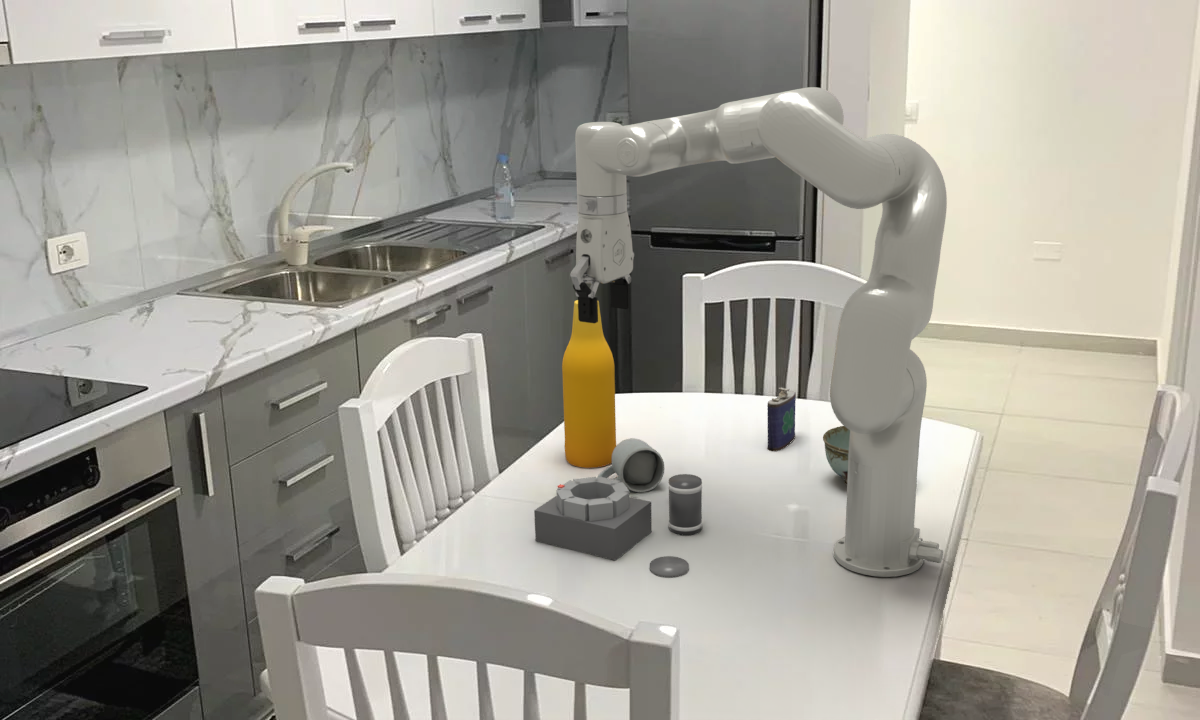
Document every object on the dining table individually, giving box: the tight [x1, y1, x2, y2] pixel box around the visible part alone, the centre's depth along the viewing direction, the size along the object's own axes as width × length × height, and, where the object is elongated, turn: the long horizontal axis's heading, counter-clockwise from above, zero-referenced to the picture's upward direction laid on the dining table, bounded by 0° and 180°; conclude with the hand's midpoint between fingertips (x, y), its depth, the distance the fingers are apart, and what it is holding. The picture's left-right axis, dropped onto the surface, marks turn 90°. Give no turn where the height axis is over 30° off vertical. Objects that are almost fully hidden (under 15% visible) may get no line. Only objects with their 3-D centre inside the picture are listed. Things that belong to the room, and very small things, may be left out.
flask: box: [766, 387, 797, 452], centre depth 209 cm, size 9×3×11 cm, turn 147°
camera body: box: [533, 476, 653, 561], centre depth 174 cm, size 14×11×8 cm
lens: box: [667, 473, 703, 537], centre depth 176 cm, size 5×5×8 cm
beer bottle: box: [561, 299, 617, 469], centre depth 202 cm, size 9×9×29 cm
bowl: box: [822, 425, 850, 486], centre depth 191 cm, size 14×13×8 cm
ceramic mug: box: [596, 437, 665, 493], centre depth 193 cm, size 11×8×8 cm
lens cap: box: [649, 555, 690, 579], centre depth 164 cm, size 6×6×1 cm
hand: (604, 314), depth 179 cm, fingers open, 9 cm apart
